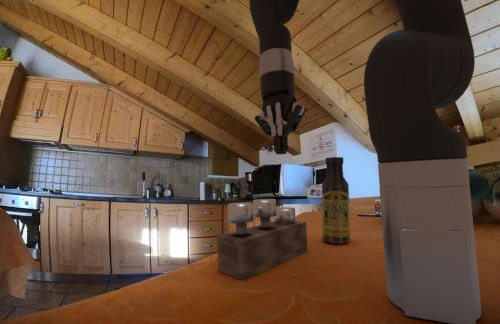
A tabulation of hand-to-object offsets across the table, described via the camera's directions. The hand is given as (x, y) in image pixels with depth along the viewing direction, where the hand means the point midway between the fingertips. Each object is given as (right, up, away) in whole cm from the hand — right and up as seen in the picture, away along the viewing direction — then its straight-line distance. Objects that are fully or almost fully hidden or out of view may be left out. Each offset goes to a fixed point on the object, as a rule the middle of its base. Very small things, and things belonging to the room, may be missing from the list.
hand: (281, 153), depth 54 cm
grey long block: (-3, -21, -6) cm, 22 cm away
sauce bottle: (+14, -21, +5) cm, 25 cm away
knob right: (+1, -19, -1) cm, 19 cm away
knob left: (-8, -16, -10) cm, 21 cm away
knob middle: (-4, -16, -5) cm, 17 cm away
